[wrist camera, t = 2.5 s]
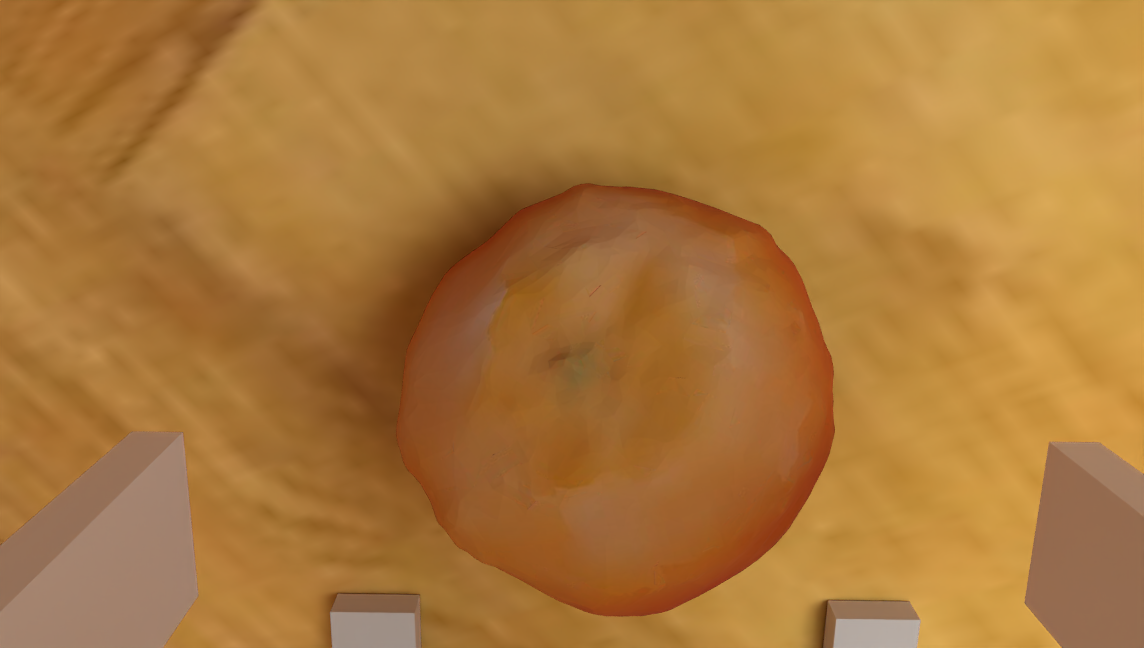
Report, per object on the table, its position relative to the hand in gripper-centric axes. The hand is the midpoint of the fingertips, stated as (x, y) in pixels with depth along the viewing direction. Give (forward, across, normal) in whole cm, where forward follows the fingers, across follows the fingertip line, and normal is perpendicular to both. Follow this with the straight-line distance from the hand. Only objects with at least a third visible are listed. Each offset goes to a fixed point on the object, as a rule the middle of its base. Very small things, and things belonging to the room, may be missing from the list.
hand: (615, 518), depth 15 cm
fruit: (+8, 0, 0) cm, 8 cm away
